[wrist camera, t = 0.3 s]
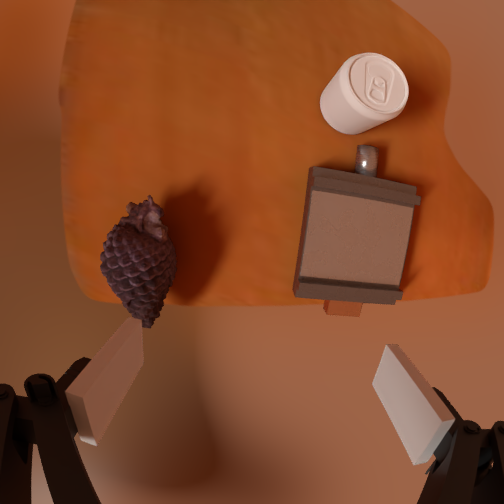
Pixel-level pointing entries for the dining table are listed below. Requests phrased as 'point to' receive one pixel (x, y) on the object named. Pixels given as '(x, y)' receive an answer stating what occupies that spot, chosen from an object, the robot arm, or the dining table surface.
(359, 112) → the beverage can
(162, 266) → the pine cone
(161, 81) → the dining table surface
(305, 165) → the dining table surface
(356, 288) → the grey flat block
